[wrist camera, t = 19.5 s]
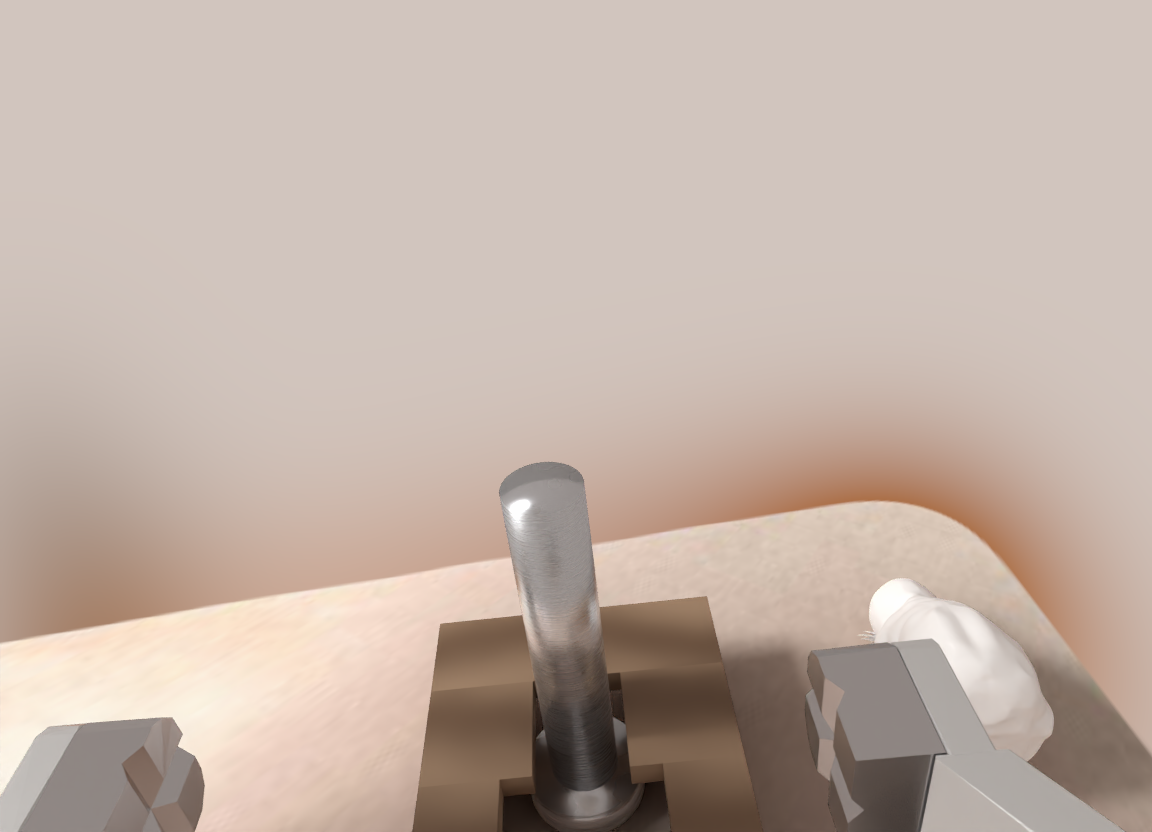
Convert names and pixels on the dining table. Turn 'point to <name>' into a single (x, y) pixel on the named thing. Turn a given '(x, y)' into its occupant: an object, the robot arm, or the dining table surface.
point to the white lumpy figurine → (970, 661)
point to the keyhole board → (634, 664)
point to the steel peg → (567, 653)
